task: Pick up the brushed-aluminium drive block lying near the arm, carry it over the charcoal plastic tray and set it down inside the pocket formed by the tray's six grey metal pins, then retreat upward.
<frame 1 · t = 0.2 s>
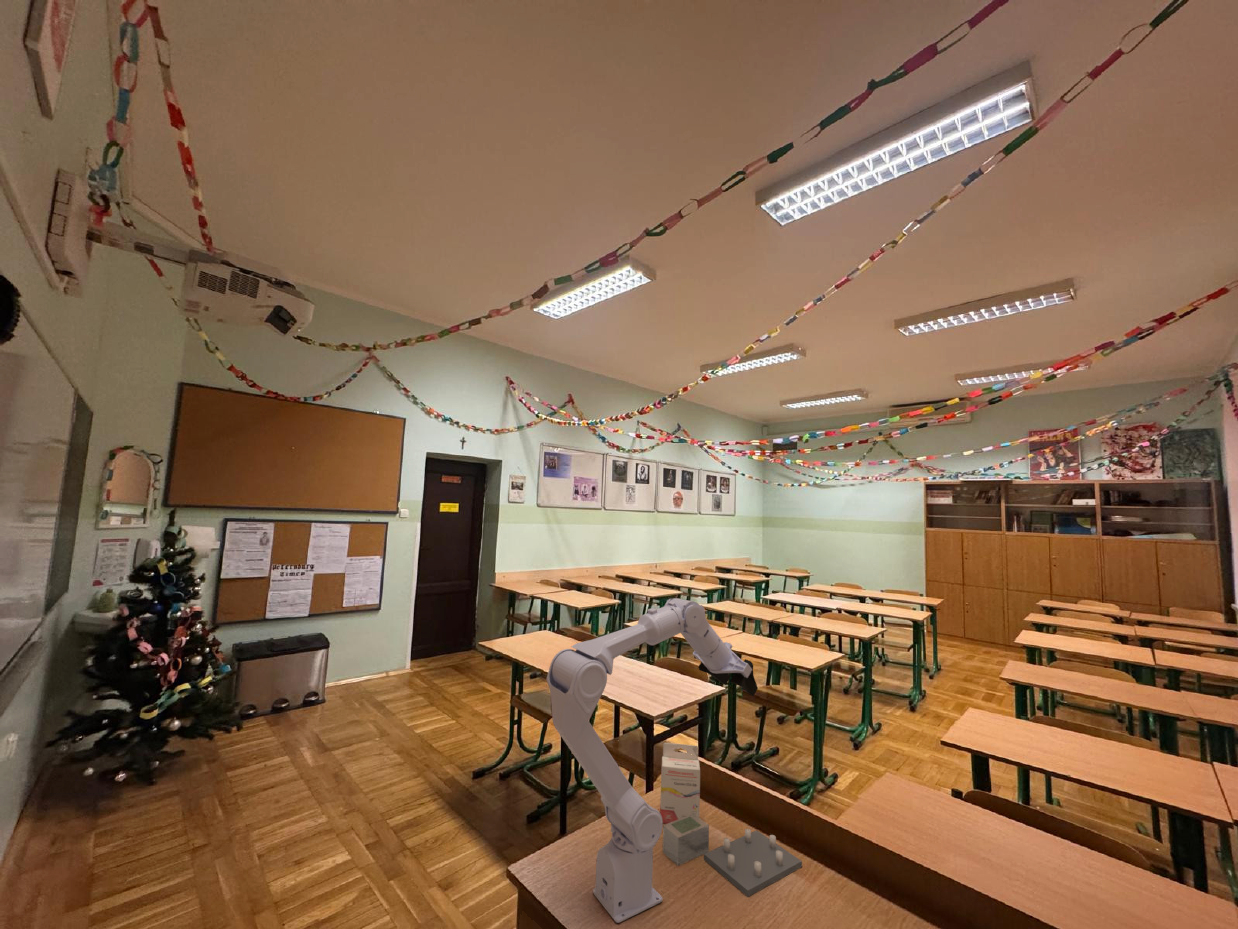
hand: (740, 686, 102), 31 cm above the table, tool tilted 45°, fingers open, 7 cm apart
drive: (685, 853, 94), on the table
ink cartridge box: (679, 820, 105), on the table
pin tray: (752, 863, 92), on the table
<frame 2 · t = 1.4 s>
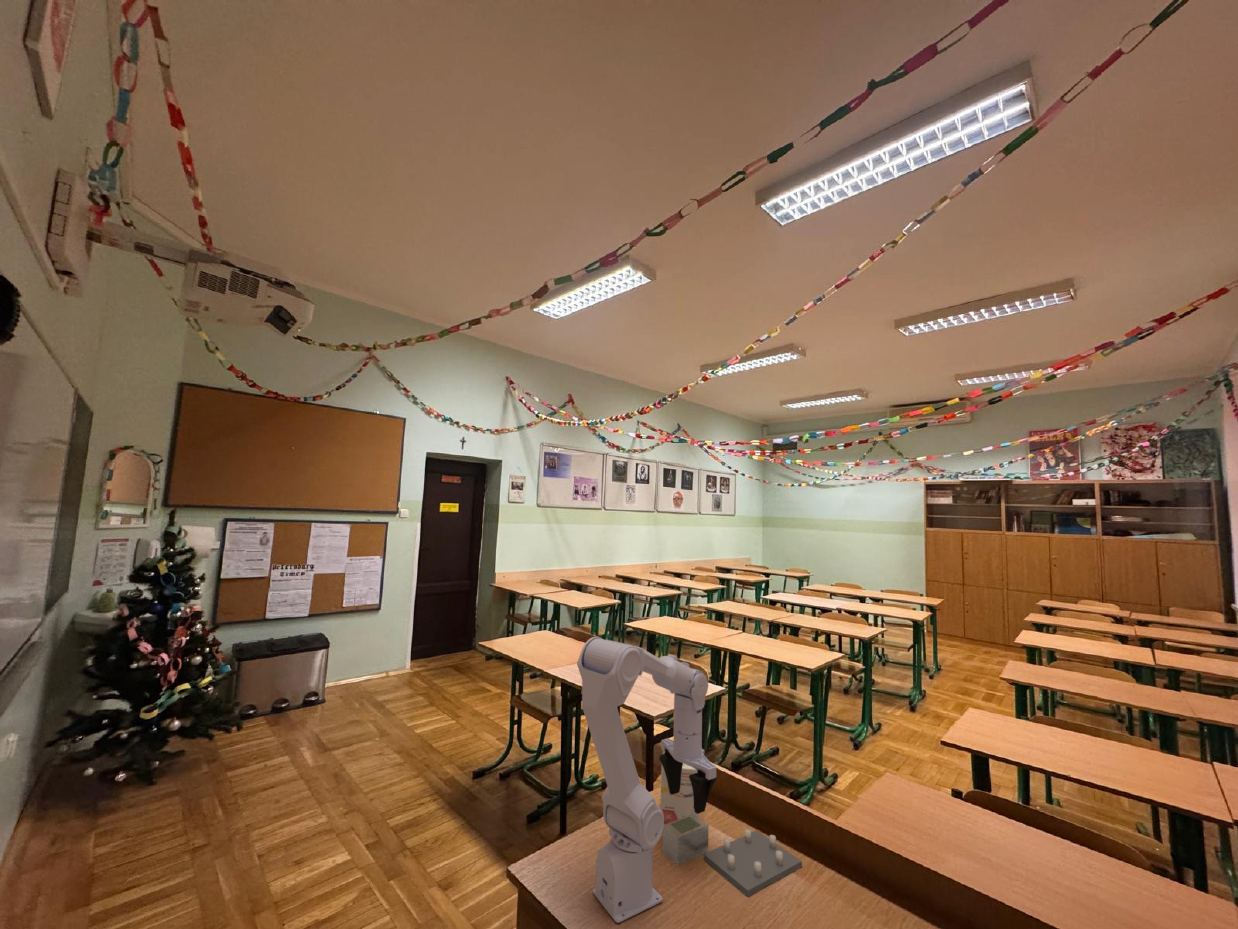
hand: (686, 802, 96), 9 cm above the table, tool pointing down, fingers open, 7 cm apart
nothing on the table moved.
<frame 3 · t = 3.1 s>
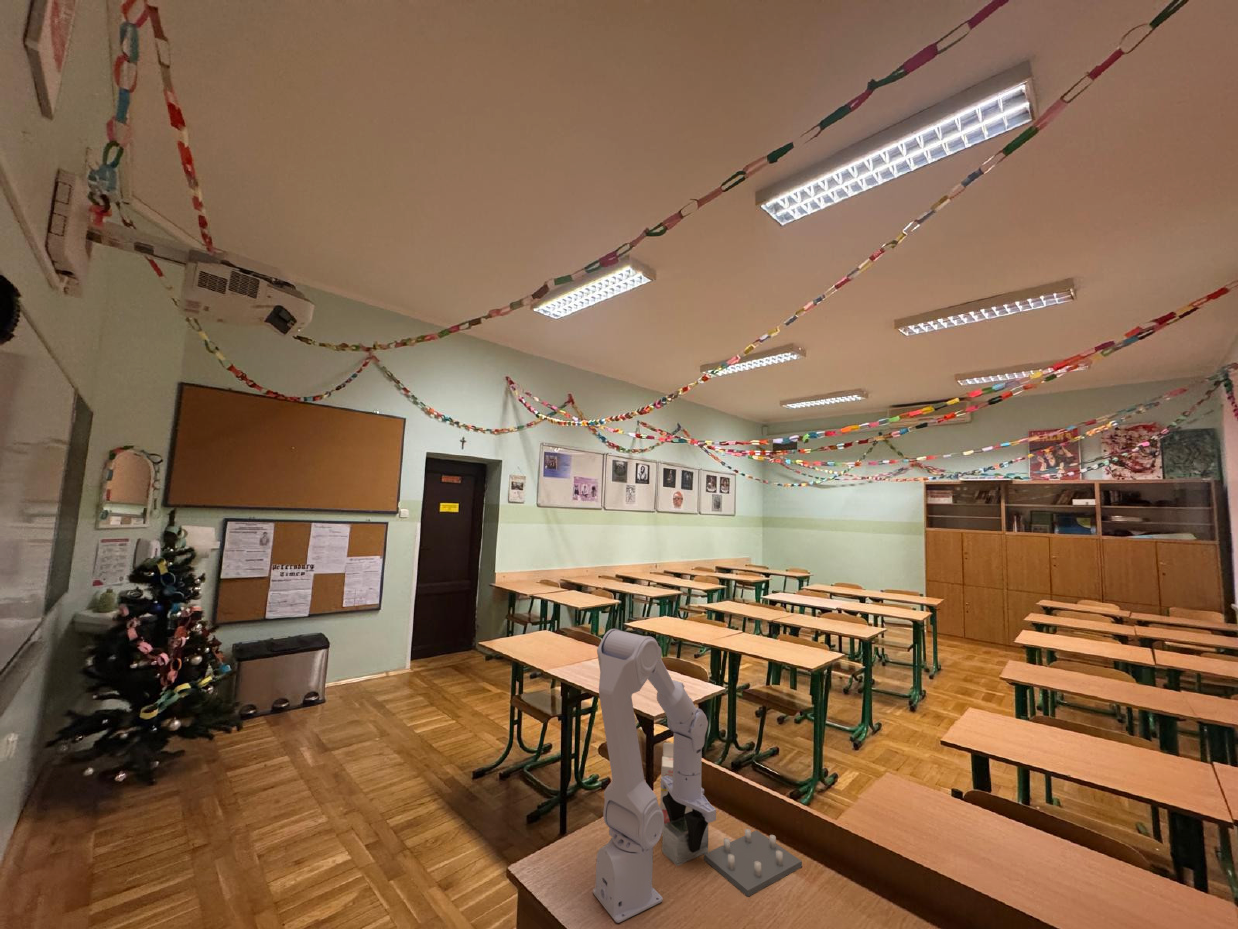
hand: (686, 843, 94), 2 cm above the table, tool pointing down, fingers closed on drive, 4 cm apart
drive: (685, 852, 94), on the table, touching gripper
everything else where it was.
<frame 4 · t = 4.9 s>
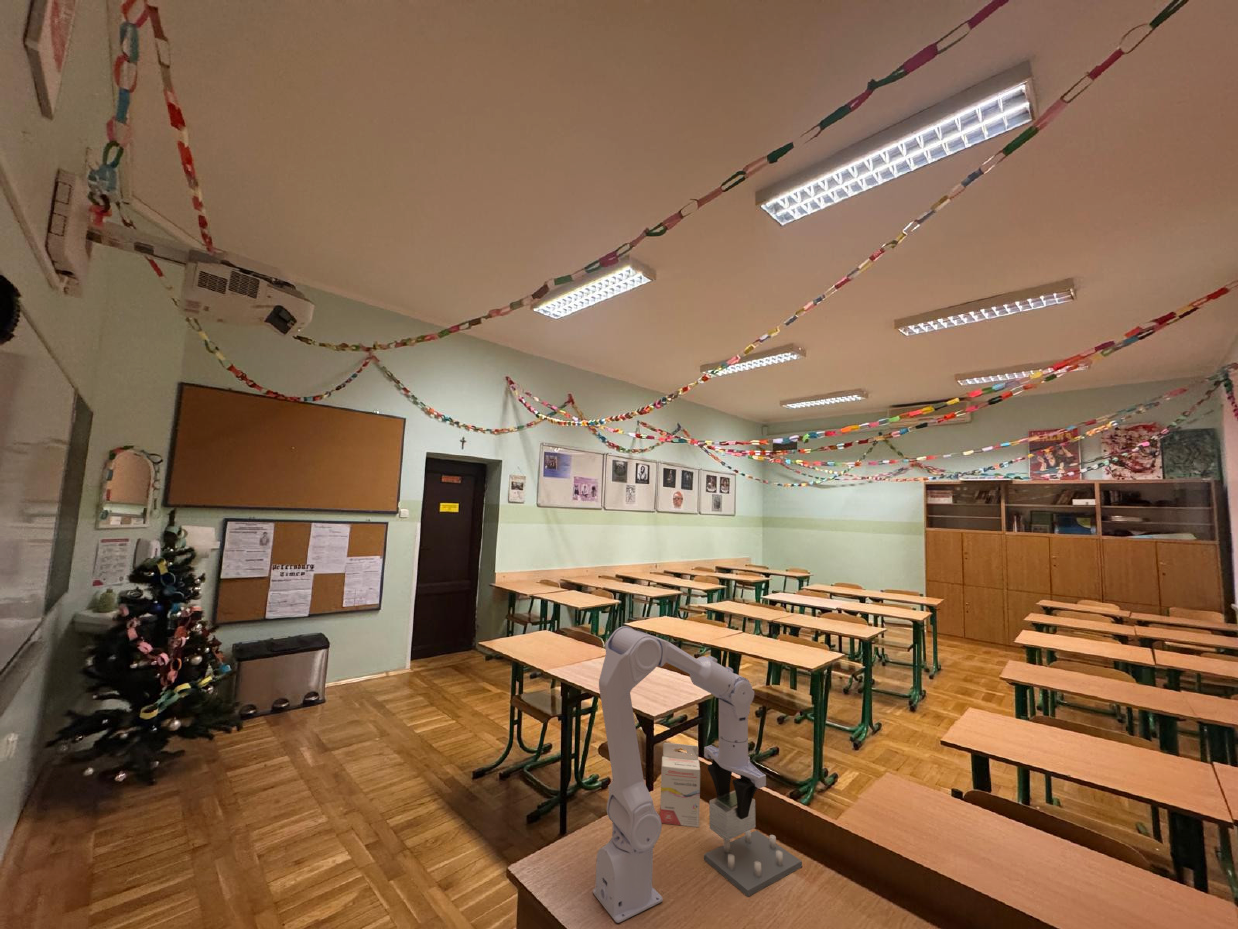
hand: (733, 810, 94), 9 cm above the table, tool pointing down, fingers closed on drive, 4 cm apart
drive: (732, 828, 93), point 6 cm above the table, touching gripper
everything else where it was.
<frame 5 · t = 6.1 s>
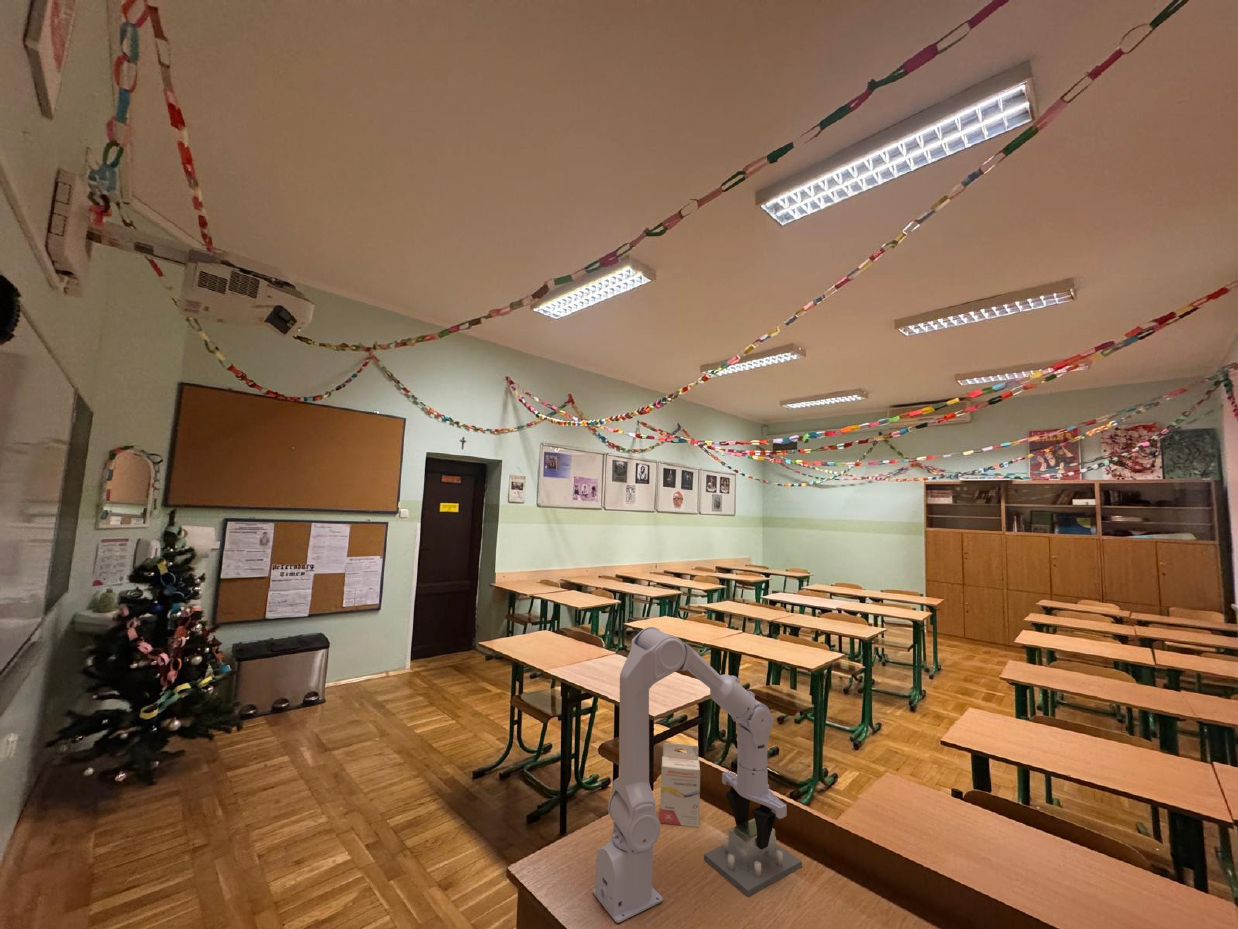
hand: (752, 839, 92), 4 cm above the table, tool pointing down, fingers closed on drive, 4 cm apart
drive: (751, 858, 92), point 1 cm above the table, touching gripper, pin tray
everything else where it was.
when the fingers open (4 cm above the table, at t = 6.9 s): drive stays where it is, resting on pin tray.
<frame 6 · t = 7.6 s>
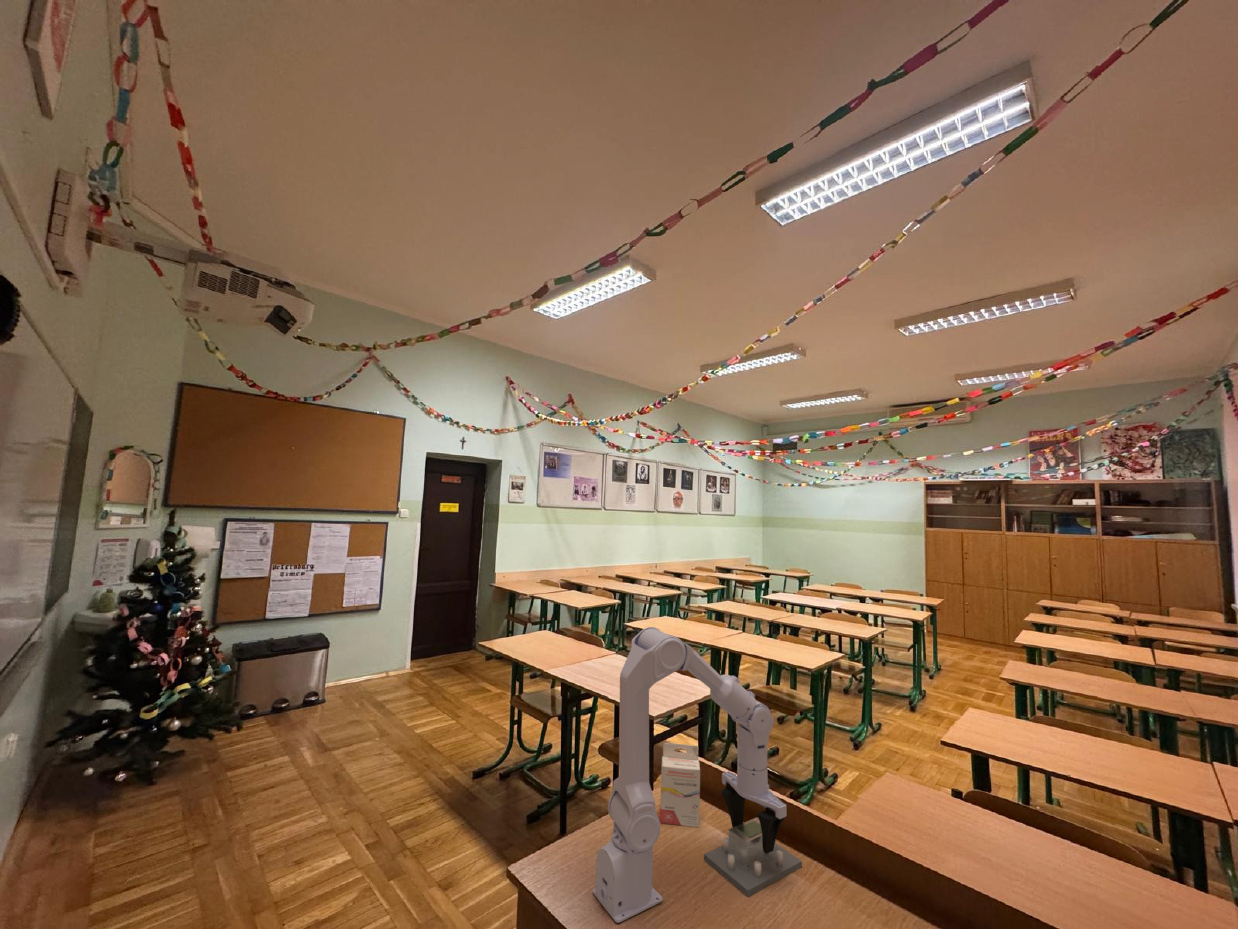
hand: (752, 839, 92), 4 cm above the table, tool pointing down, fingers open, 7 cm apart
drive: (751, 858, 92), point 1 cm above the table, touching pin tray
everything else where it was.
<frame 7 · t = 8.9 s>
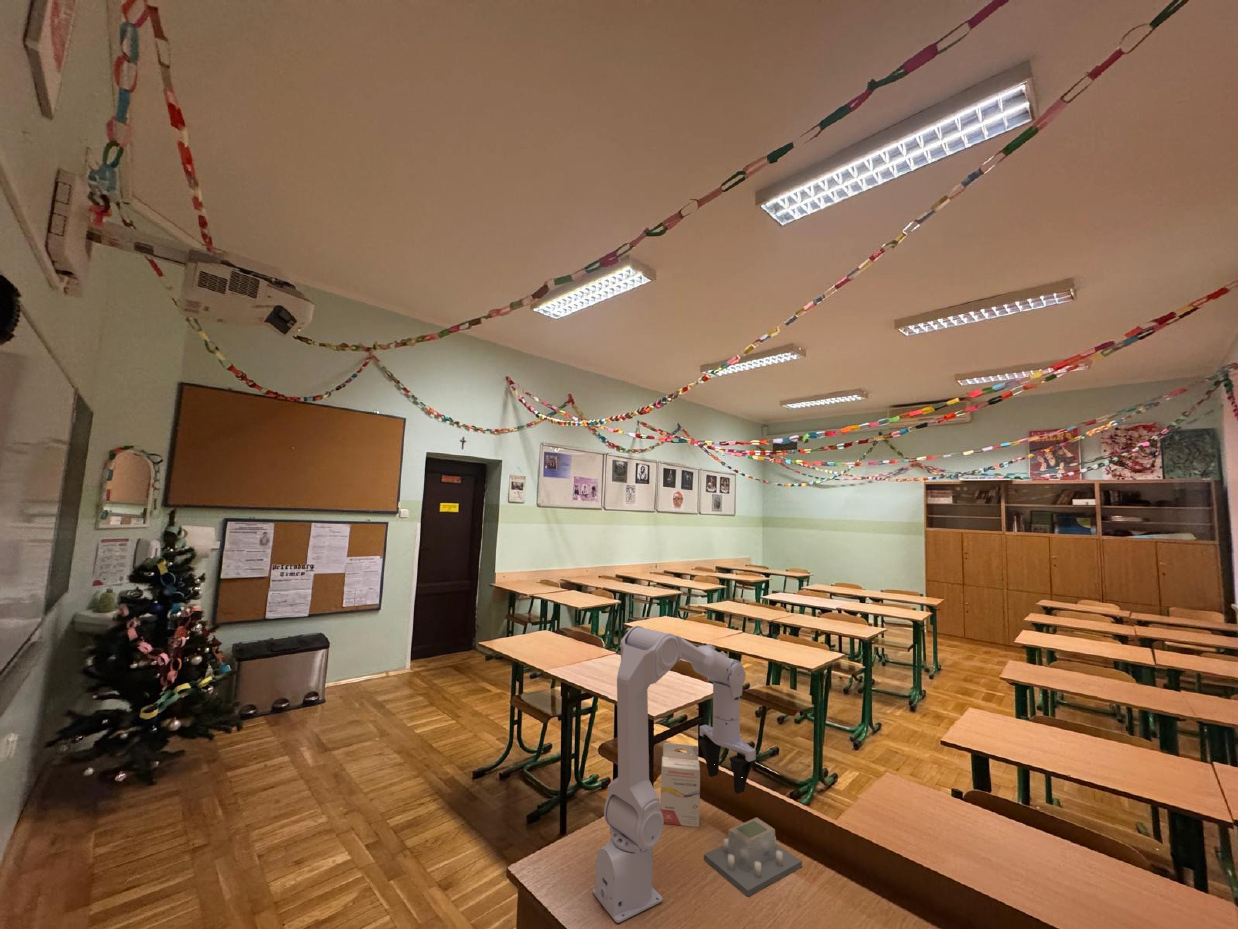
hand: (726, 783, 102), 10 cm above the table, tool pointing down, fingers open, 7 cm apart
nothing on the table moved.
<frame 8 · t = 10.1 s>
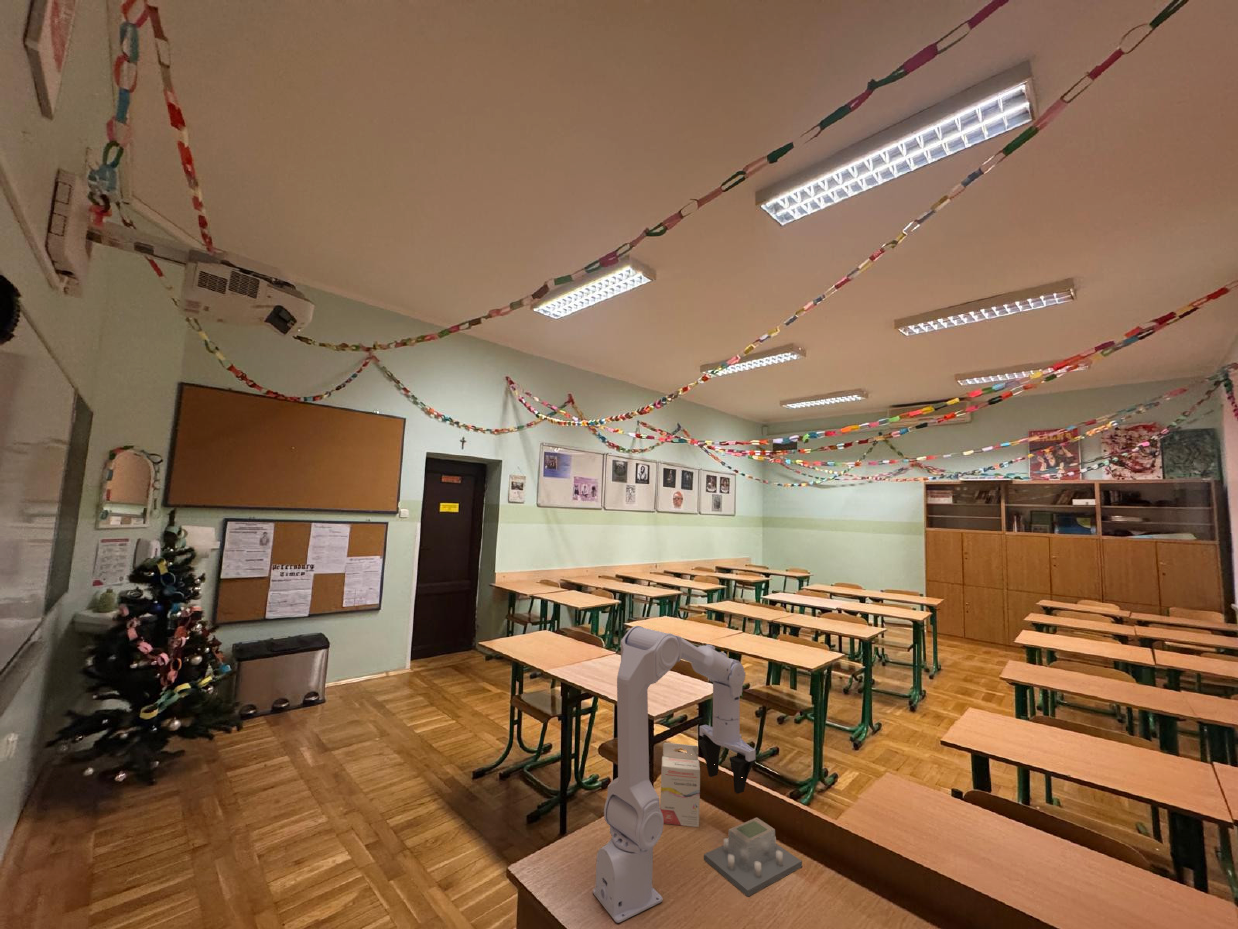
hand: (725, 783, 102), 10 cm above the table, tool pointing down, fingers open, 7 cm apart
nothing on the table moved.
at the end: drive 0.2 cm off-centre on the pin tray, point 1.0 cm above the pin tray's base; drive tilted 0°; the gripper is holding nothing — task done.
